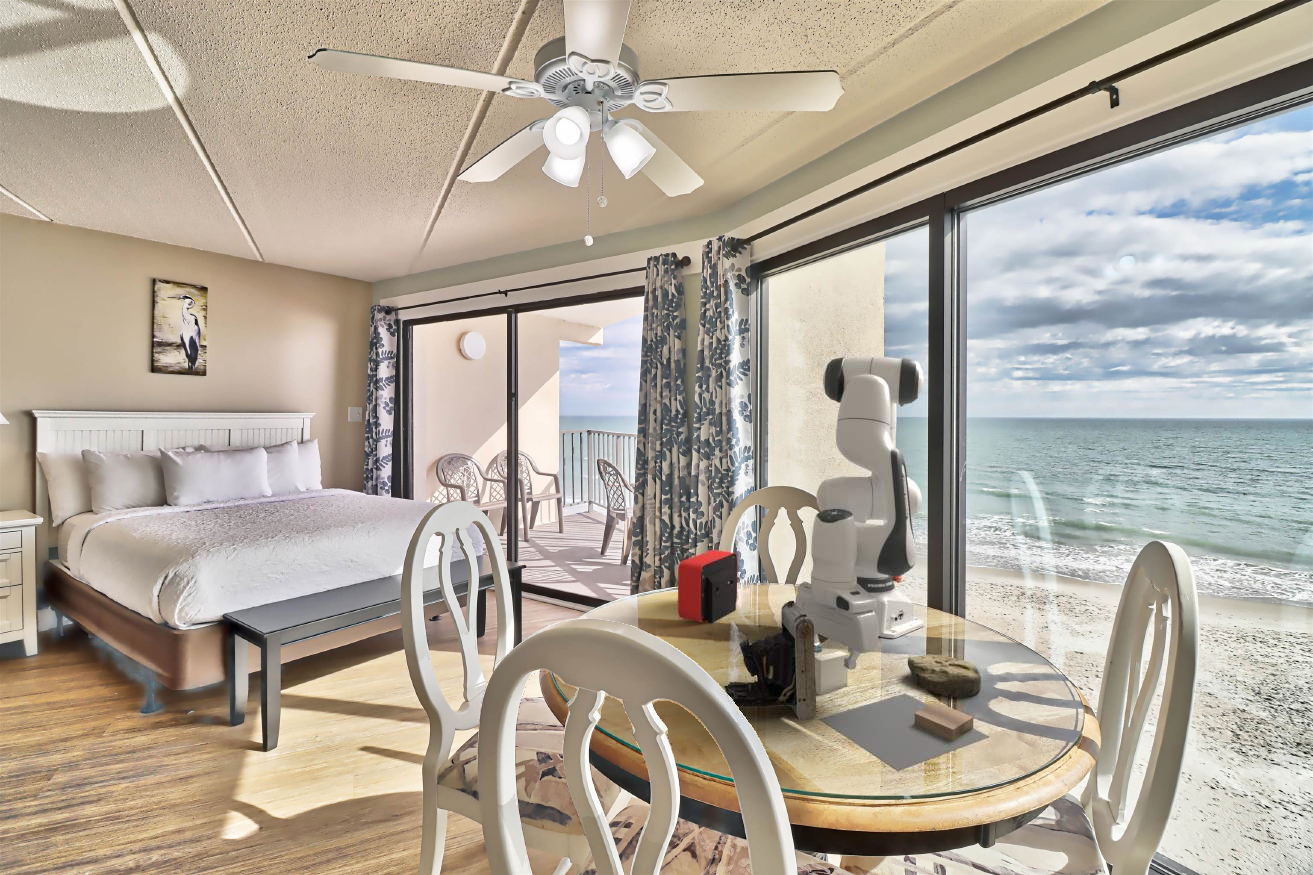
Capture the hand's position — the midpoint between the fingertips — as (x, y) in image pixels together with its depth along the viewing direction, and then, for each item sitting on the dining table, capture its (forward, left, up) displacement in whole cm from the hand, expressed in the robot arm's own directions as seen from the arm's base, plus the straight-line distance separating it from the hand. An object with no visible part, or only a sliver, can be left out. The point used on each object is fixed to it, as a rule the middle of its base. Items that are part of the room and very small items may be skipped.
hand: (832, 659), depth 125 cm
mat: (0, +17, -6) cm, 18 cm away
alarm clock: (-3, -51, -7) cm, 51 cm away
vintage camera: (+17, +1, -7) cm, 18 cm away
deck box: (0, -1, -7) cm, 7 cm away
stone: (-22, +8, -7) cm, 25 cm away
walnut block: (-7, +20, -6) cm, 22 cm away
